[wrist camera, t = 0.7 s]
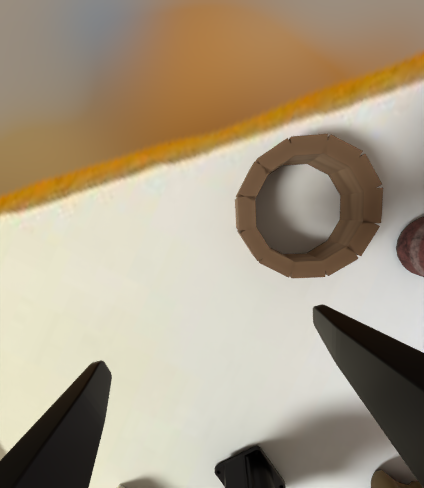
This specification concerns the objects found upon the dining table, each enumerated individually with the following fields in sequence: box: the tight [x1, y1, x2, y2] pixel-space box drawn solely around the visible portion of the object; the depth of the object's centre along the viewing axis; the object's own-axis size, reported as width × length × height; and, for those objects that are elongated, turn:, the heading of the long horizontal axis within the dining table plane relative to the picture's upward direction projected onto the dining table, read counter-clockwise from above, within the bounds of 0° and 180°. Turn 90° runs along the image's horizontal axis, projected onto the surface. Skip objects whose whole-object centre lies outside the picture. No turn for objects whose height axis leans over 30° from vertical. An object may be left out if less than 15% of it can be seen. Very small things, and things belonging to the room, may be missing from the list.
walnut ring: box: [235, 134, 383, 278], centre depth 19 cm, size 12×12×4 cm
